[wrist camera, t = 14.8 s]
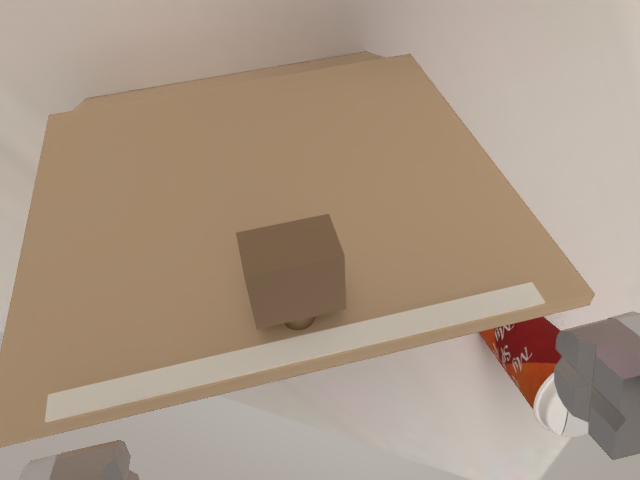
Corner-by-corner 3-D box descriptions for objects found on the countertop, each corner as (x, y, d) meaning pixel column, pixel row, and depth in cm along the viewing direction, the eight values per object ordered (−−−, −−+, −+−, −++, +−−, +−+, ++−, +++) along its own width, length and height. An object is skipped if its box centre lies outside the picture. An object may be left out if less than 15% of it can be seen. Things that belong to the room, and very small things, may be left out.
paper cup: (459, 304, 56) (535, 393, 43) (527, 274, 56) (622, 353, 44) (476, 359, 59) (550, 456, 47) (540, 331, 60) (631, 420, 47)
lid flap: (-8, 449, 18) (-91, 376, 15) (53, 125, 32) (17, 49, 29) (589, 305, 21) (632, 216, 18) (409, 64, 35) (414, -12, 31)
